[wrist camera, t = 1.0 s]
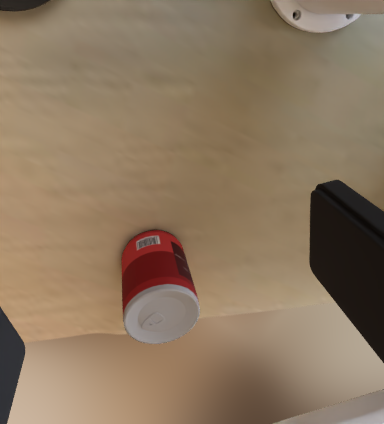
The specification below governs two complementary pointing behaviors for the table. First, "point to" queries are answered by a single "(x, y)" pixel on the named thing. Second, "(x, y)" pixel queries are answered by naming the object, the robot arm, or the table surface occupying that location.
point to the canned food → (157, 289)
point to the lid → (20, 4)
